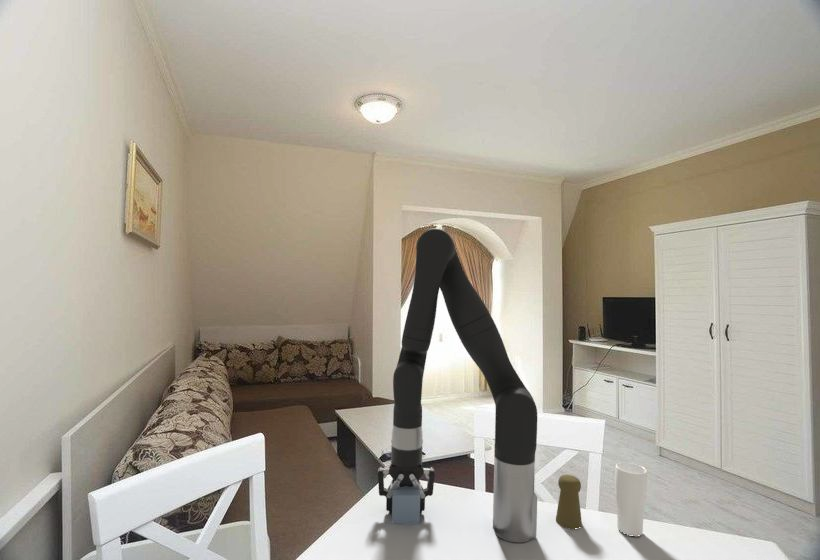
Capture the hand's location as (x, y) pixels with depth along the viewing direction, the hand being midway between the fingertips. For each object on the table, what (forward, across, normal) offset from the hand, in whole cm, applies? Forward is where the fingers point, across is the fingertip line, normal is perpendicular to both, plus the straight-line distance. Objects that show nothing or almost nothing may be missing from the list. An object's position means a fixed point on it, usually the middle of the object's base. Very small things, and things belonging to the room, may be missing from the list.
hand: (405, 511), depth 104 cm
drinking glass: (+2, -53, +5) cm, 53 cm away
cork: (+2, -40, +1) cm, 40 cm away
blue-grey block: (+2, 0, 0) cm, 2 cm away
